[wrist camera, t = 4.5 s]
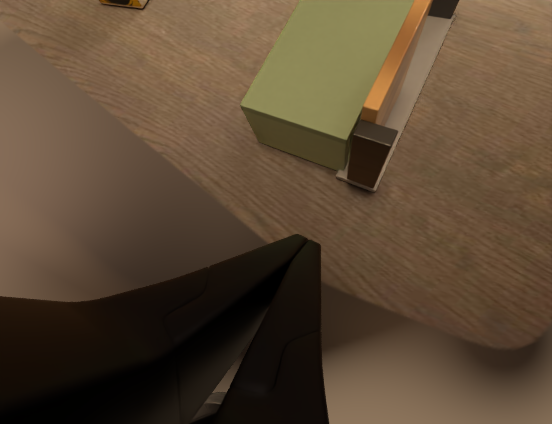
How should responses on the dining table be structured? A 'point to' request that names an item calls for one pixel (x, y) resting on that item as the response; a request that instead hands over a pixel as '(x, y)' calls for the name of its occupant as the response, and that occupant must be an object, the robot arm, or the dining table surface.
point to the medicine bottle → (126, 3)
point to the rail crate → (337, 76)
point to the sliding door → (385, 101)
